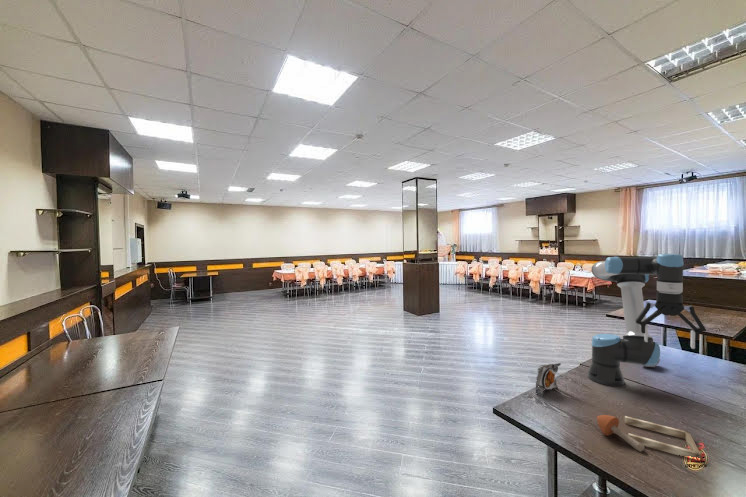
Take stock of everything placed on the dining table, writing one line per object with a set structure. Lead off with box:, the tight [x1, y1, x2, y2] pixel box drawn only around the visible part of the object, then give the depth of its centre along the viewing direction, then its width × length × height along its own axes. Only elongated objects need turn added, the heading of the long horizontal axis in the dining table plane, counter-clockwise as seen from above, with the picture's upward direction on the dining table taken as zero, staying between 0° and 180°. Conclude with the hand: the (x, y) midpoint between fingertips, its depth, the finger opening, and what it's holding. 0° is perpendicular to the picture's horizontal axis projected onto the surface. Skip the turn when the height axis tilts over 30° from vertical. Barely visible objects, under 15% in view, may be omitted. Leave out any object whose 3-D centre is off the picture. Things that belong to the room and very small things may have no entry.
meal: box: [535, 363, 561, 398], centre depth 146 cm, size 15×4×13 cm, turn 122°
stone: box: [642, 358, 661, 368], centre depth 174 cm, size 8×12×7 cm, turn 130°
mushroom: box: [596, 414, 646, 453], centre depth 110 cm, size 8×8×15 cm
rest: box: [624, 415, 702, 459], centre depth 109 cm, size 18×14×3 cm
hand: (668, 344), depth 122 cm, fingers open, 13 cm apart
